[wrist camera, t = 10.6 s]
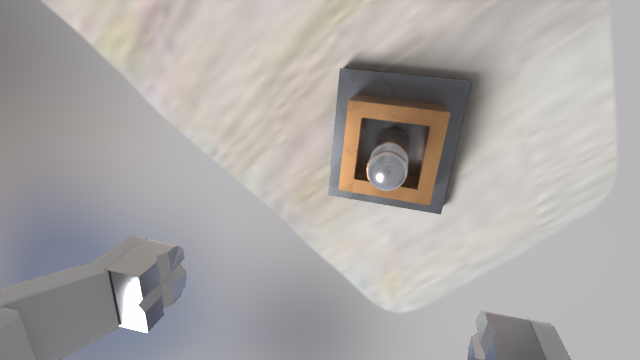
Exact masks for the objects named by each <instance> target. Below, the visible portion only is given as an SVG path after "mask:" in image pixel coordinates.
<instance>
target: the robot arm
mask: <svg viewBox="0 0 640 360" xmlns="http://www.w3.org/2000/svg"><path fill="white" fill-rule="evenodd" d="M183 260H184V252H183V248H181V247H180V246H178V245H174V244H169V243H165V242H161V241H157V240H152V239H147V238H143V237H139V236H131V237H129V238H127V239H125V240H124V241H122V242H121V243H120V244H118V245H117V246H115V247H114V248H112V249H111V250H109V251H108V252H106V253H105V254H103V255H102V256H100V257H99V258H97V259H96V260H95V261H93V262H92V263H90V264H89V265H87V266H85V265H79V266H76V267H72V268H69V269H65V270H62V271H59V272H55V273H52V274H48V275H45V276H41V277H38V278H34V279H31V280H27V281H24V282H21V283H17V284H14V285H10V286H7V287H4V288H0V360H61V359H62V358H64V357H66V356H68V355H70V354H72V353H74V352H76V351H77V350H79V349H81V348H83V347H85V346H87V345H89V344H90V343H92V342H94V341H96V340H98V339H100V338H102V337H103V336H105V335H107V334H109V333H111V332H113V331H115V330H116V329H118V328H119V327H120V326H122V327H126V328H130V329H134V330H138V331H142V332H147V333H148V332H149V331H150V330H151V328H153V326H154V325H155V324H156V323H157V322H158V321H159V320H160V319H161V318H162V317H163V315H164V308H166V307H168V306H170V305H172V304H174V303H175V302H176V301H177V300H178V299H179V298H180V297H181V295H182V292H183V290H184V288H185V285H186V271H185V270H184V268H183V267H182V265H181V263H182V261H183ZM476 325H477V330H478V333H477V334H475V335H474V336H472V337H471V341H470V344H469V350H468V360H571V359H570V357H569V355H568V353H567V351H566V349H565V347H564V345H563V343H562V341H561V339H560V337H559V335H558V333H557V331H556V329H555V327H554V326H553V325H551V324H550V323H545V322H540V321H534V320H529V319H526V320H525V319H521V318H516V317H512V316H507V315H502V314H497V313H492V312H487V311H483V310H482V311H481V312H480V313H479V315H478V318H477V321H476Z"/></svg>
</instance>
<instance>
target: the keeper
mask: <svg viewBox="0 0 640 360" xmlns="http://www.w3.org/2000/svg"><path fill="white" fill-rule="evenodd" d="M471 83H472V82H471V81H470V80H462V79H452V78H442V77H431V76H421V75H411V74H401V73H391V72H380V71H370V70H360V69H350V68H341V69H340V75H339V85H338V96H337V107H336V118H335V128H334V139H333V150H332V160H331V171H330V182H329V193H328V195H332V196H338V197H344V198H349V199H355V200H361V201H367V202H373V203H378V204H384V205H390V206H396V207H401V208H407V209H413V210H419V211H425V212H430V213H436V214H441V212H442V207H443V203H444V199H445V194H446V190H447V186H448V182H449V177H450V173H451V169H452V165H453V160H454V156H455V152H456V147H457V143H458V139H459V135H460V130H461V126H462V122H463V118H464V113H465V109H466V105H467V100H468V96H469V92H470V88H471ZM355 94H356V95H365V96H374V97H382V98H391V99H399V100H408V101H416V102H425V103H434V104H442V105H447V107H448V109H449V111H450V112H451V113H450V117H449V122H448V126H447V130H446V135H445V139H444V144H443V148H442V153H441V157H440V162H439V166H438V171H437V175H436V180H435V184H434V189H433V193H432V198H431V202H430V205H424V204H418V203H413V202H407V201H401V200H395V199H389V198H384V197H378V196H372V195H366V194H360V193H355V192H349V191H343V190H339V181H340V172H341V163H342V154H343V144H344V135H345V126H346V117H347V108H348V100H349V99H350V98H352V97H353V96H354V95H355ZM426 128H427V126H425V125H417V124H409V123H401V122H394V121H386V120H378V119H370V118H366V122H365V129H364V137H363V145H362V152H361V160H360V166H364V167H367V177H368V179H369V181H370V182H371V184H372V185H373V186H375V187H376V188H378V189H380V190H384V191H390V190H394V189H397V188H398V187H400V186H401V185H402V184H403V183H404V182H405V180H406V178H407V174H415V175H417V173H418V168H419V163H420V158H421V153H422V148H423V143H424V138H425V133H426Z"/></svg>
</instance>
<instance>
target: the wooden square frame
mask: <svg viewBox="0 0 640 360" xmlns="http://www.w3.org/2000/svg"><path fill="white" fill-rule="evenodd" d="M450 113H451V112H450V111H449V109H448V107H447V105H442V104H434V103H425V102H416V101H408V100H399V99H391V98H382V97H374V96H365V95H356V94H355V95H354V96H353V97H352V98H350V99H349V100H348V108H347V117H346V126H345V135H344V144H343V154H342V163H341V172H340V181H339V190H343V191H349V192H355V193H360V194H366V195H372V196H378V197H384V198H389V199H395V200H401V201H407V202H413V203H418V204H424V205H430V202H431V198H432V193H433V189H434V184H435V180H436V175H437V171H438V166H439V162H440V157H441V153H442V148H443V144H444V139H445V135H446V130H447V126H448V122H449V117H450ZM366 118H370V119H378V120H386V121H394V122H401V123H409V124H417V125H425V126H427V128H426V133H425V138H424V143H423V148H422V153H421V158H420V163H419V168H418V173H417V175H415V174H407V178H406V180H405V182H404V183H403V184H402V185H401V186H400V187H398V188H397V189H394V190H390V191H384V190H380V189H378V188H376V187H375V186H373V185H372V184H371V182H370V181H369V179H368V177H367V167H364V166H360V160H361V152H362V145H363V137H364V129H365V122H366Z"/></svg>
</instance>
